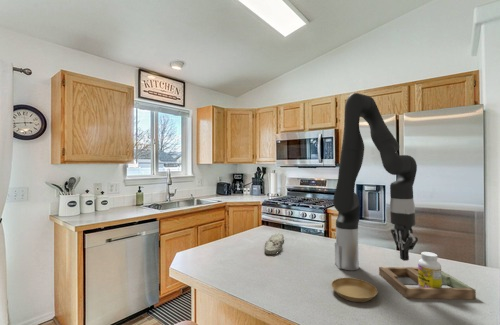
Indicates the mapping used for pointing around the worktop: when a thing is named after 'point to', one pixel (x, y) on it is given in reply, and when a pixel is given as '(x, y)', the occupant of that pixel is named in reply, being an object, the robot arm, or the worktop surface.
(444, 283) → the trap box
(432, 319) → the worktop surface
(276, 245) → the elongated rock
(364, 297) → the plant saucer
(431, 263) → the supplement bottle
